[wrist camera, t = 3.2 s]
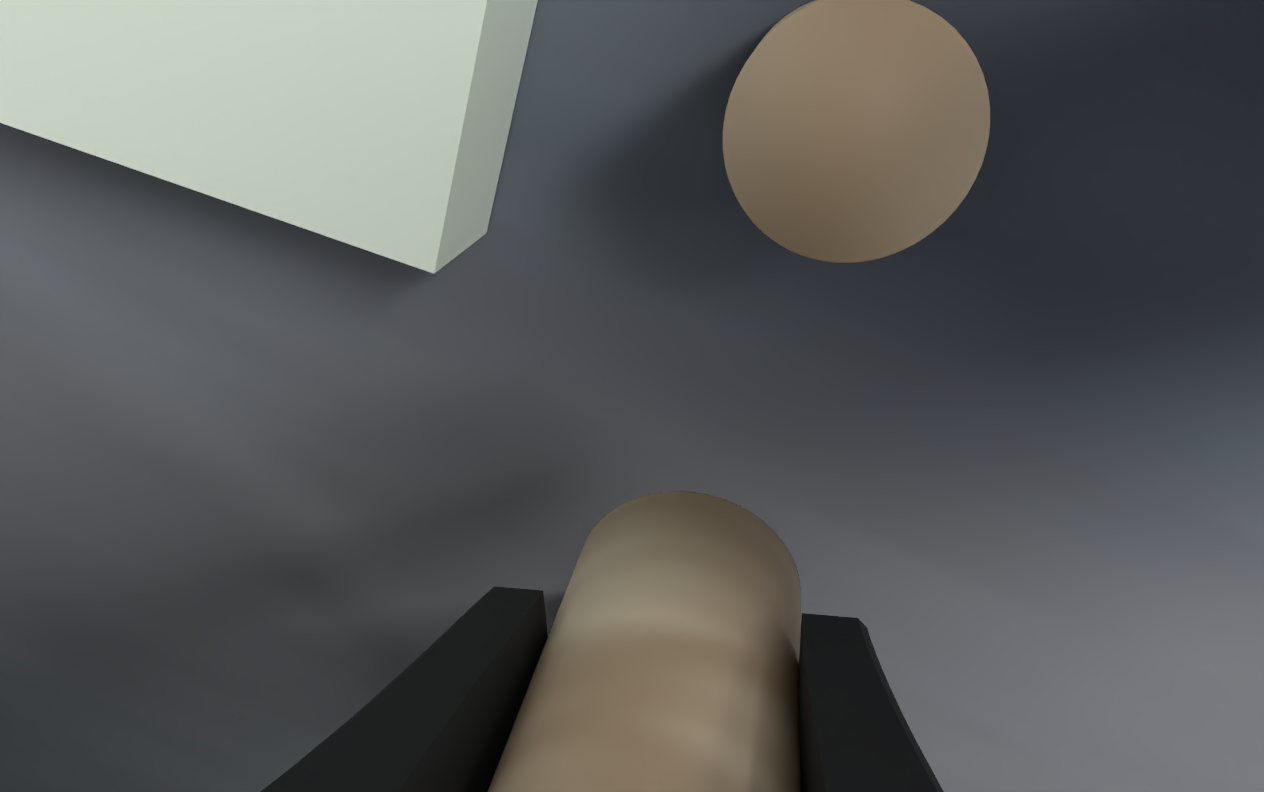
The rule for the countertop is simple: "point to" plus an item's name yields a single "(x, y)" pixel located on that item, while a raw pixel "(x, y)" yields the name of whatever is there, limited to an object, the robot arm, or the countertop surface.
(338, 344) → the countertop surface
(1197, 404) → the countertop surface
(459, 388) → the countertop surface
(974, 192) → the countertop surface
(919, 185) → the dowel short
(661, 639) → the dowel medium
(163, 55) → the board
